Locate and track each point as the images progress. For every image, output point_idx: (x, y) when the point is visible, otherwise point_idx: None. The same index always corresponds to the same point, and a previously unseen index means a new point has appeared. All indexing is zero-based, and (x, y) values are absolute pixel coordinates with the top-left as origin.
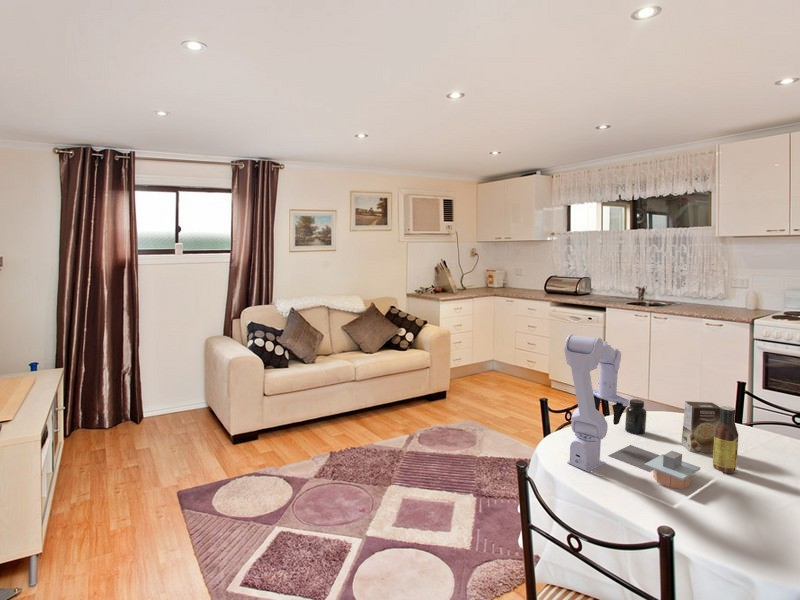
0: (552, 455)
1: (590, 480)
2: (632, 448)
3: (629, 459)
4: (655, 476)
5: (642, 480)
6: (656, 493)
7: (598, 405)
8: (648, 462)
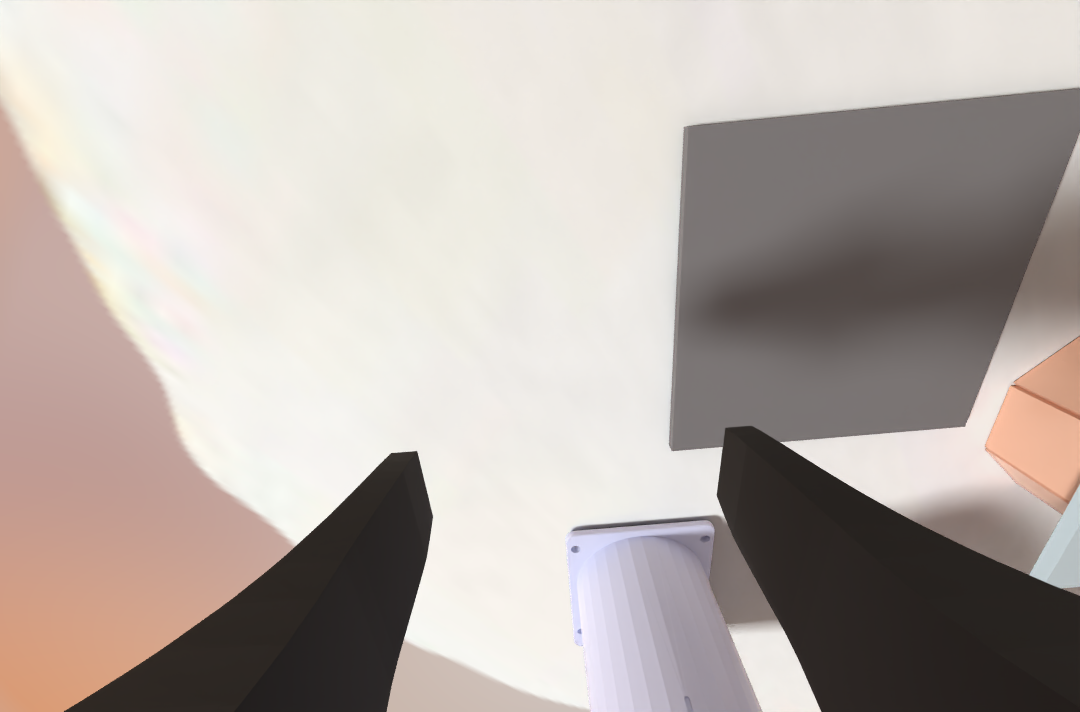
0: (474, 633)
1: (742, 659)
2: (738, 188)
3: (803, 384)
4: (1033, 489)
5: (938, 508)
6: (1026, 552)
7: (340, 630)
8: (1066, 557)
